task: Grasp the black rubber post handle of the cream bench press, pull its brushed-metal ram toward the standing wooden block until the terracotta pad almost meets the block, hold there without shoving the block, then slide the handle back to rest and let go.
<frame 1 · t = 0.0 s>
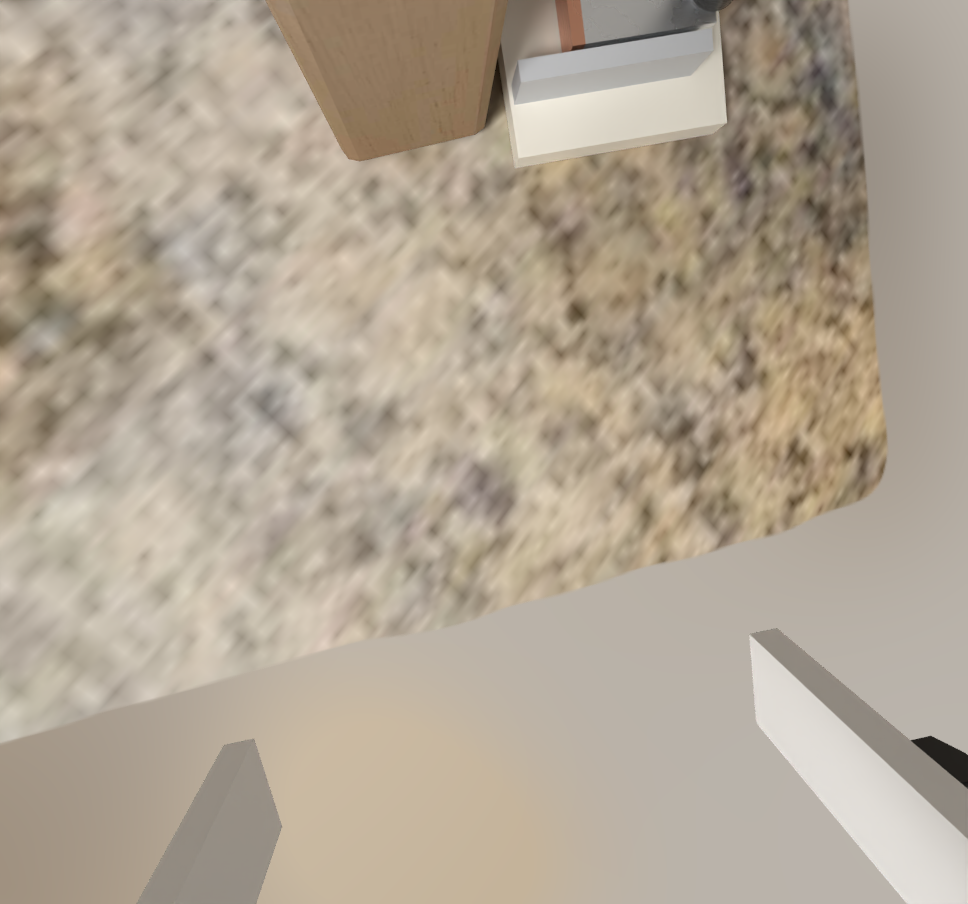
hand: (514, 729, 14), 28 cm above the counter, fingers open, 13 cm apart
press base: (601, 40, 36), on the counter
wooden block: (399, 75, 35), on the counter
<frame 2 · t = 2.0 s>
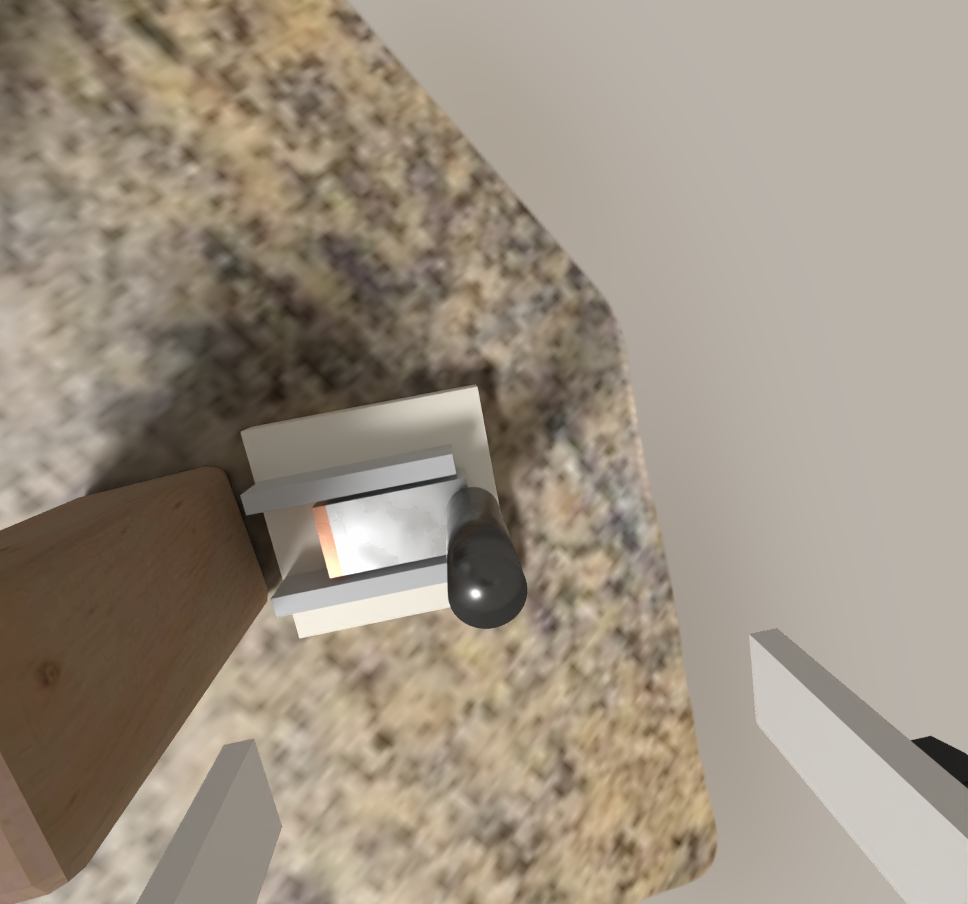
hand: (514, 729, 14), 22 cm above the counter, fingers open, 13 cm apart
ram handle: (406, 550, 27), point 9 cm above the counter, slide at 0.0 cm
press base: (388, 507, 35), on the counter
wooden block: (180, 547, 35), on the counter
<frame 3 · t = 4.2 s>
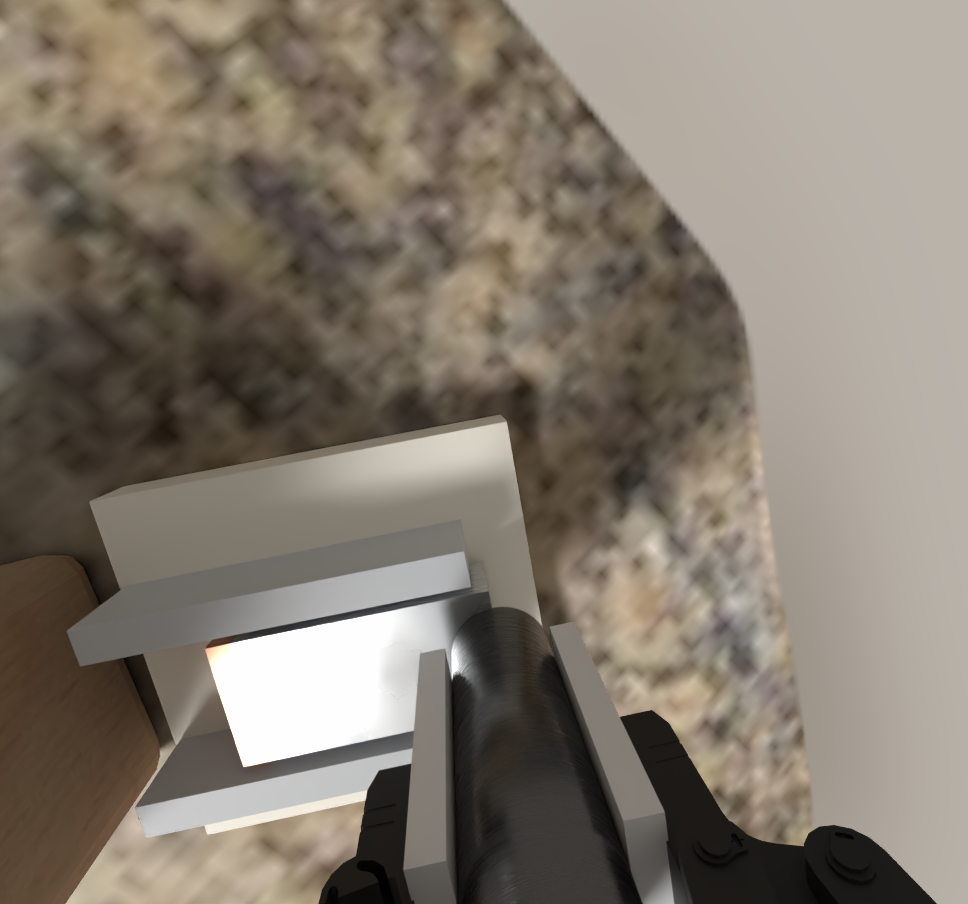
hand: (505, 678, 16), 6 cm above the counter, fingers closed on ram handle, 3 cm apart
ram handle: (373, 768, 13), point 8 cm above the counter, slide at 0.0 cm, touching gripper
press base: (356, 613, 21), on the counter
wooden block: (15, 680, 21), on the counter
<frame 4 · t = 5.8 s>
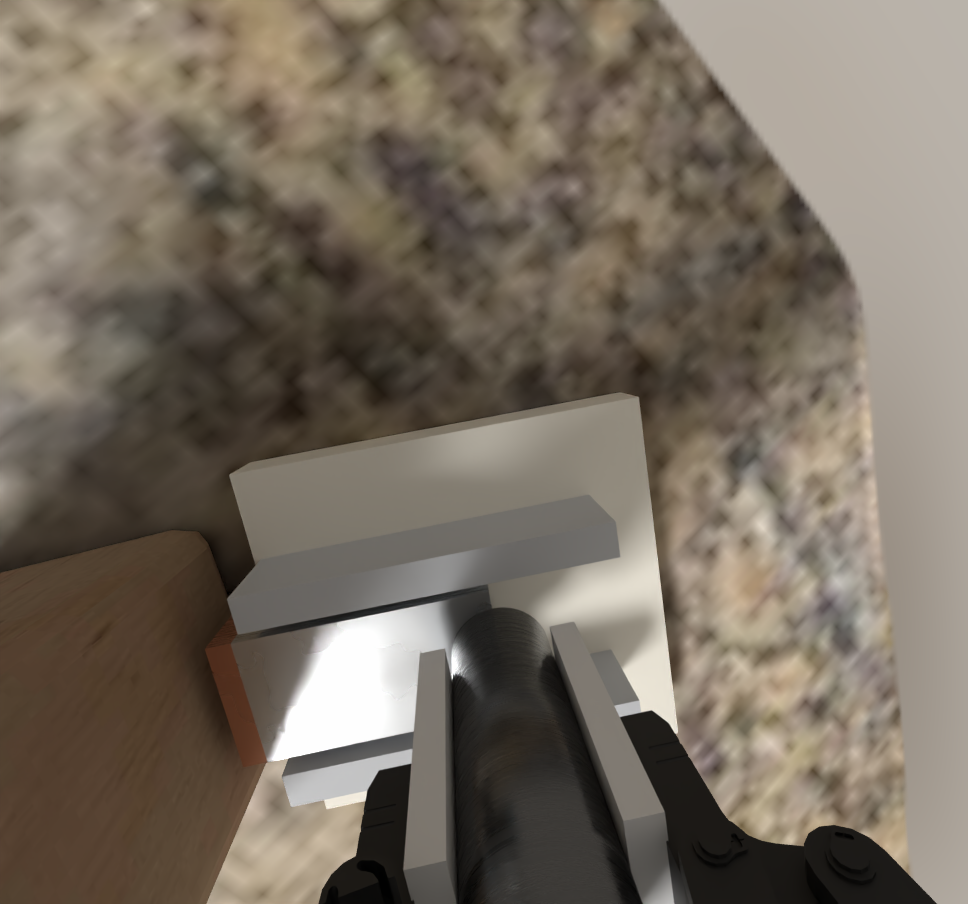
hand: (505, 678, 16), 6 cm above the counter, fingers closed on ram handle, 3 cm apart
ram handle: (373, 768, 13), point 8 cm above the counter, slide at 4.8 cm, touching gripper
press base: (470, 591, 22), on the counter
wooden block: (133, 656, 21), on the counter
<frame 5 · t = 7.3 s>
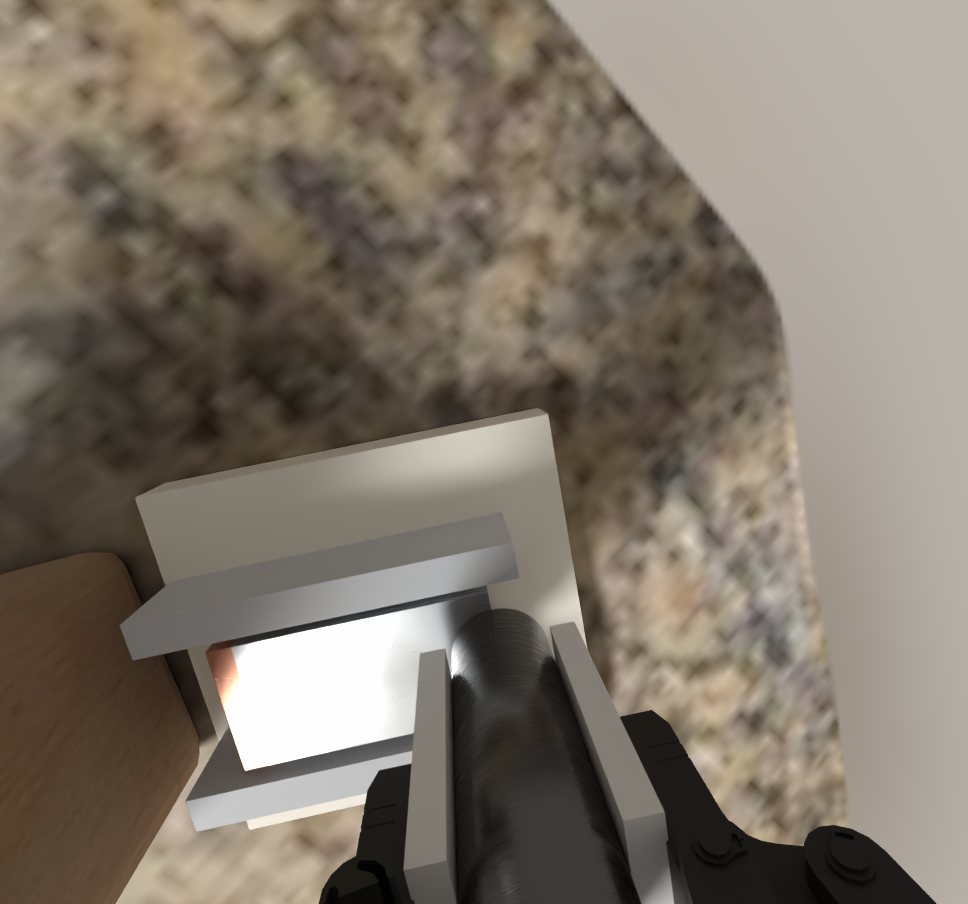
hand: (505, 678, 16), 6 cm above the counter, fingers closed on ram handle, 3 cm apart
ram handle: (373, 770, 13), point 8 cm above the counter, slide at 1.5 cm, touching gripper
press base: (394, 608, 21), on the counter
wooden block: (56, 677, 21), on the counter
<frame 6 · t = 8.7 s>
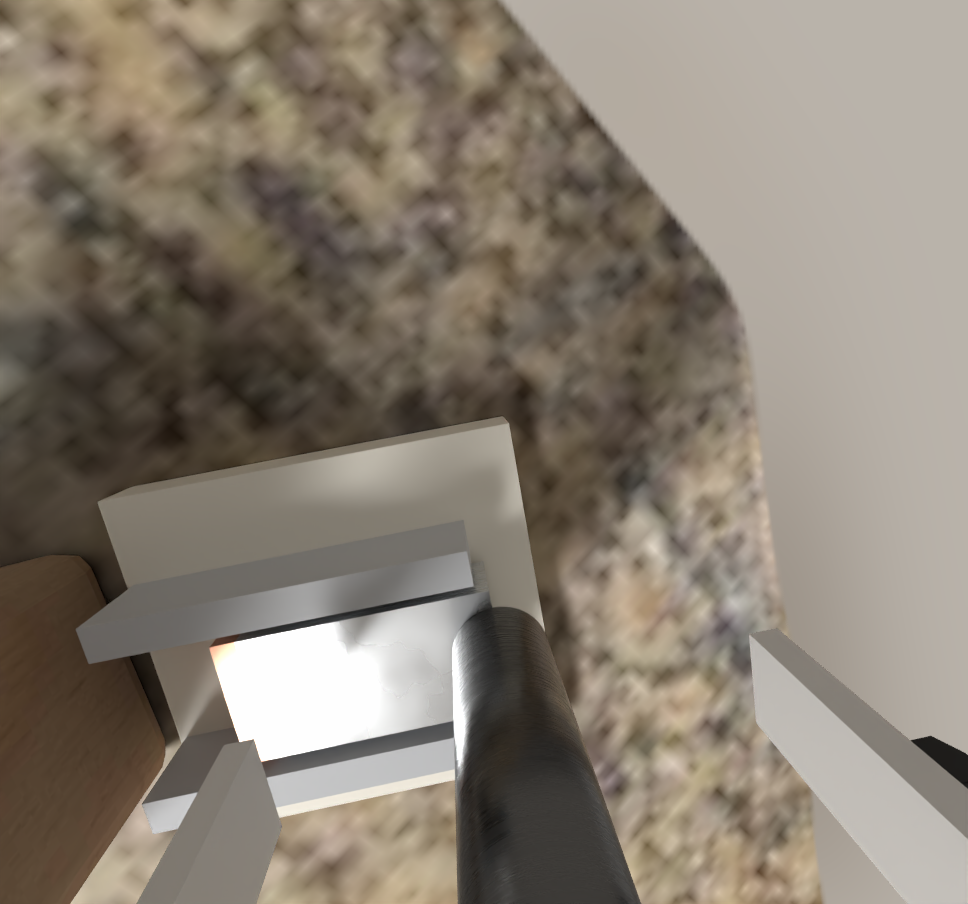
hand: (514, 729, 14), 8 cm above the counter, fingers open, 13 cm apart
ram handle: (374, 764, 13), point 8 cm above the counter, slide at 0.1 cm
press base: (360, 613, 22), on the counter
wooden block: (23, 678, 21), on the counter
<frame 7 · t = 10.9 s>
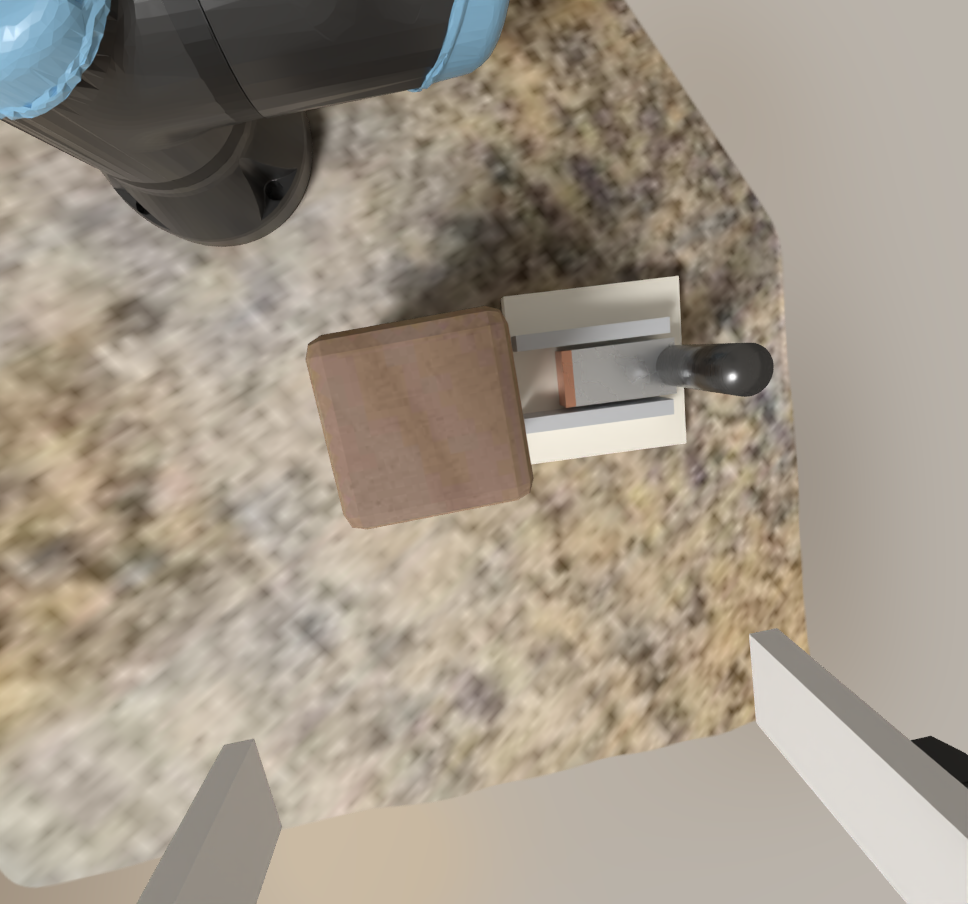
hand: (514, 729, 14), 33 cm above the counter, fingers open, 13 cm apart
ram handle: (648, 373, 37), point 8 cm above the counter, slide at 0.1 cm
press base: (591, 371, 45), on the counter
wooden block: (432, 392, 45), on the counter
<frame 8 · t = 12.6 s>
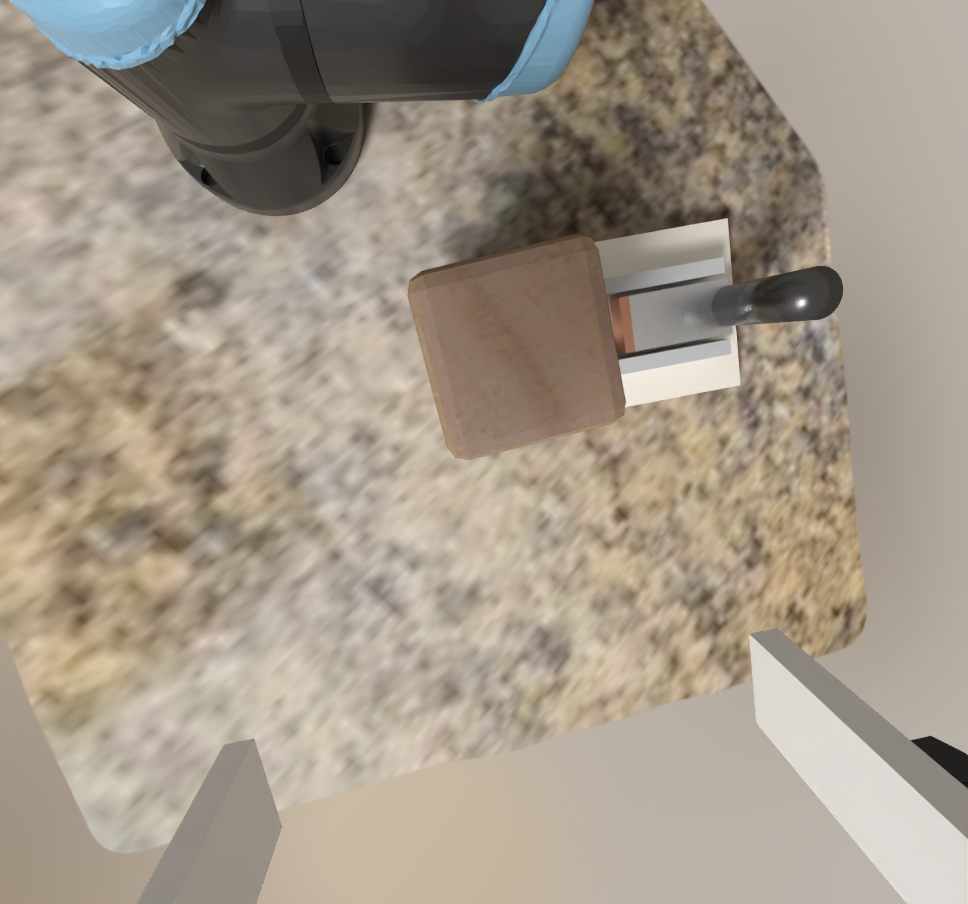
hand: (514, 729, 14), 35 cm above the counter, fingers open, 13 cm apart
ram handle: (710, 310, 38), point 8 cm above the counter, slide at 0.1 cm
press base: (643, 320, 46), on the counter
wooden block: (489, 349, 46), on the counter
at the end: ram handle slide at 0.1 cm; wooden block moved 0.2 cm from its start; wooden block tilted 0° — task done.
